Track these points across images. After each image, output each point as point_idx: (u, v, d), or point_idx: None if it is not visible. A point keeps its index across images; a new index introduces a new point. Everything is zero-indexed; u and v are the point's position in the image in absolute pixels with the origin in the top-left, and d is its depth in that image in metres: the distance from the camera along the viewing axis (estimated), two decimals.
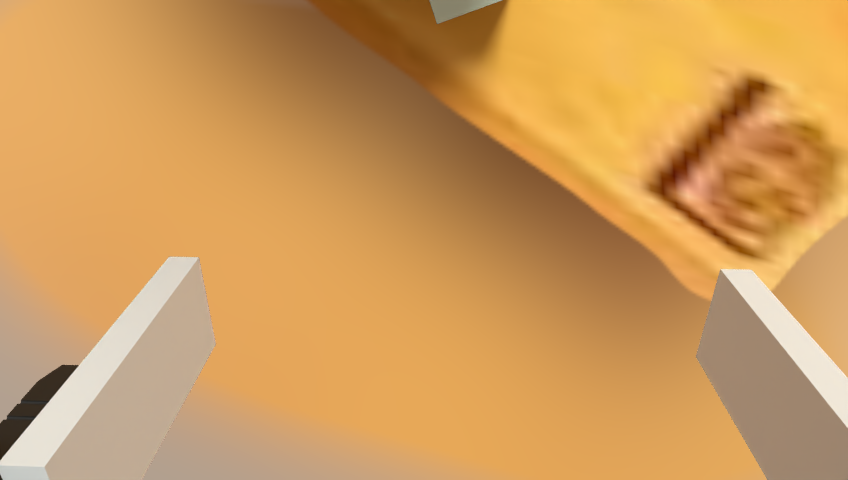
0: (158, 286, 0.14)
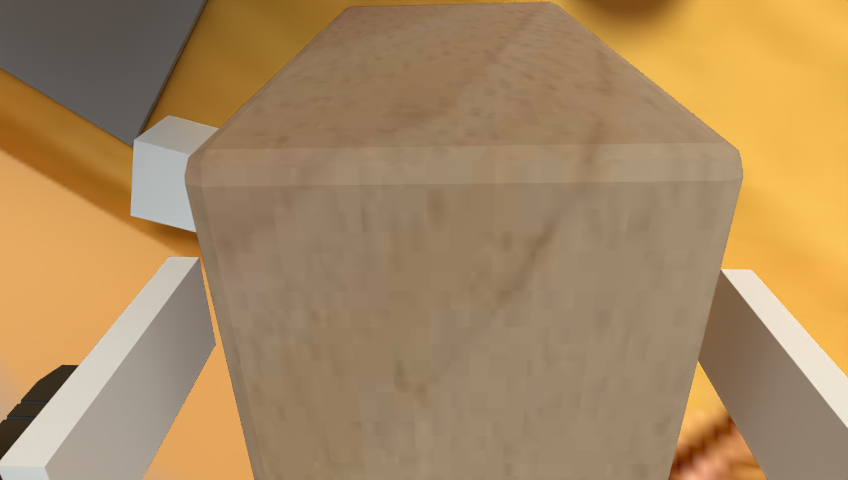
0: (158, 286, 0.14)
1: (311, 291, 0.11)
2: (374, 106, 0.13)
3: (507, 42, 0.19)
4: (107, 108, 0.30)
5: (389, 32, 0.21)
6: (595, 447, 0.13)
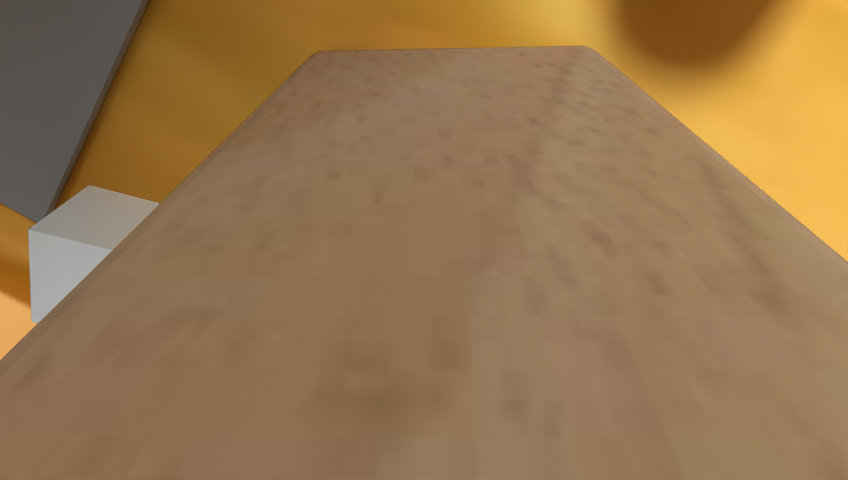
0: None
1: None
2: (291, 358, 0.06)
3: (543, 134, 0.12)
4: (7, 178, 0.23)
5: (362, 106, 0.14)
6: None
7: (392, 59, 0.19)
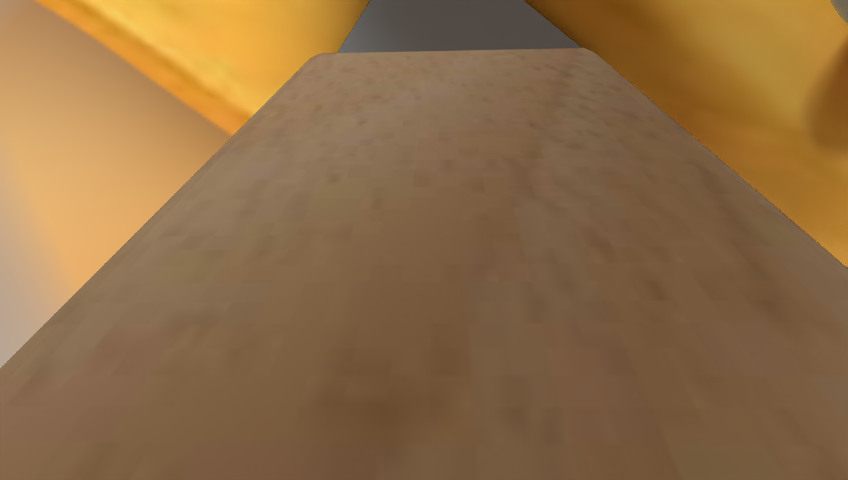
0: None
1: None
2: (291, 365, 0.06)
3: (543, 138, 0.12)
4: None
5: (362, 109, 0.14)
6: None
7: (392, 61, 0.19)
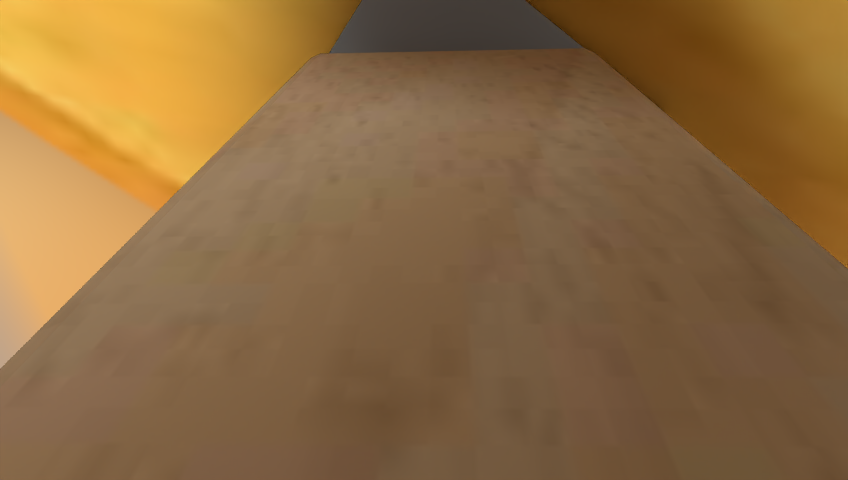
0: None
1: None
2: (291, 366, 0.06)
3: (542, 138, 0.12)
4: None
5: (362, 109, 0.14)
6: None
7: (392, 62, 0.19)
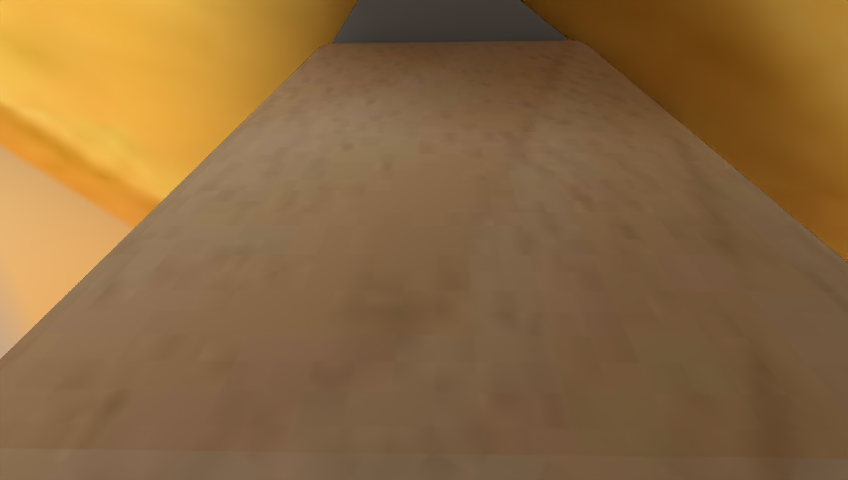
0: None
1: None
2: (321, 282, 0.07)
3: (536, 115, 0.13)
4: None
5: (370, 91, 0.15)
6: None
7: (396, 51, 0.20)
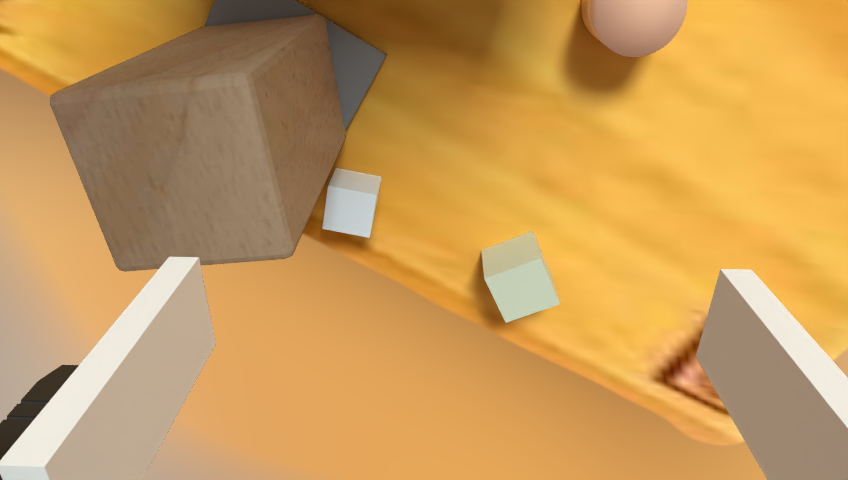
0: (158, 286, 0.14)
1: (106, 145, 0.29)
2: (137, 73, 0.30)
3: (243, 41, 0.36)
4: None
5: (195, 41, 0.39)
6: (243, 212, 0.31)
7: (227, 27, 0.43)
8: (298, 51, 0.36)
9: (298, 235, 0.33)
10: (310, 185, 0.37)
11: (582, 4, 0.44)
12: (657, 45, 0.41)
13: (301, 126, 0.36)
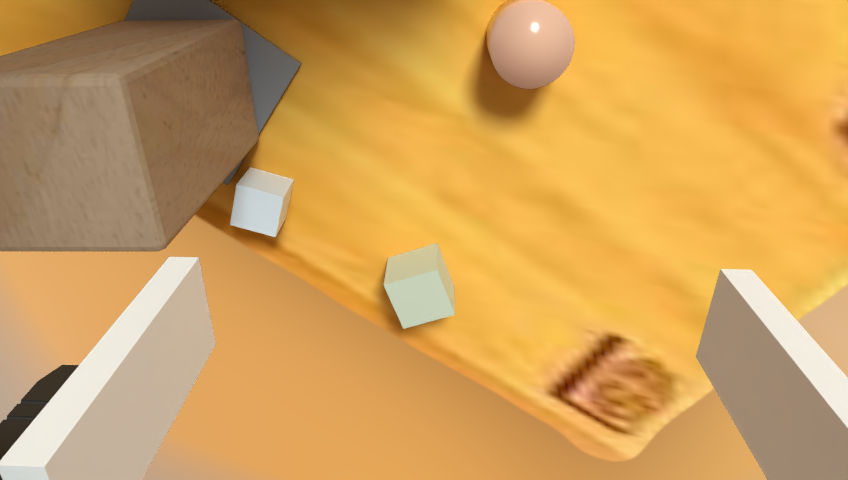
0: (158, 286, 0.14)
1: None
2: (23, 63, 0.32)
3: (144, 40, 0.38)
4: None
5: (102, 35, 0.40)
6: (116, 204, 0.32)
7: (143, 23, 0.45)
8: (197, 55, 0.38)
9: (174, 230, 0.35)
10: (198, 183, 0.38)
11: (486, 34, 0.47)
12: (547, 79, 0.44)
13: (192, 126, 0.37)
